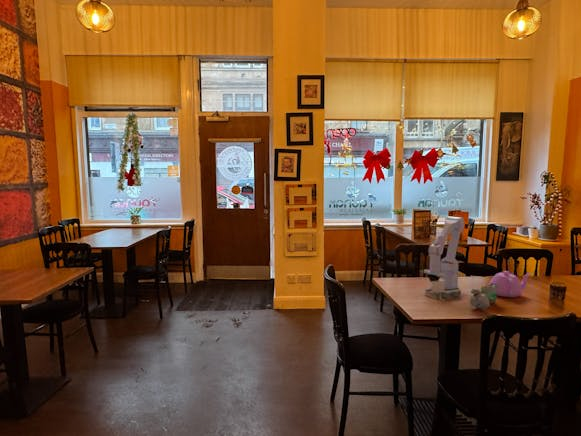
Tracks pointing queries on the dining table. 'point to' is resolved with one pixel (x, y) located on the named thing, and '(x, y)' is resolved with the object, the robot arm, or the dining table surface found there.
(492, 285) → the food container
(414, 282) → the dining table surface
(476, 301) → the grey lumpy figure
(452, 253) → the robot arm
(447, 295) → the frame
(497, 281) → the teapot
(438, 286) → the pad
